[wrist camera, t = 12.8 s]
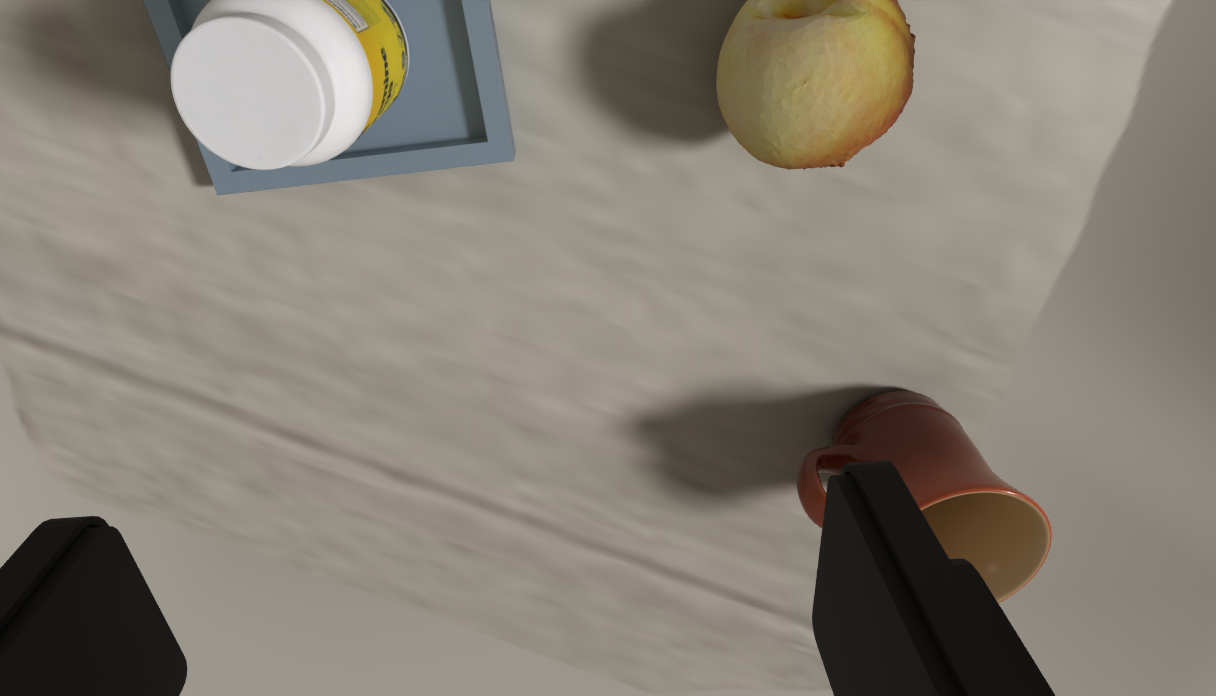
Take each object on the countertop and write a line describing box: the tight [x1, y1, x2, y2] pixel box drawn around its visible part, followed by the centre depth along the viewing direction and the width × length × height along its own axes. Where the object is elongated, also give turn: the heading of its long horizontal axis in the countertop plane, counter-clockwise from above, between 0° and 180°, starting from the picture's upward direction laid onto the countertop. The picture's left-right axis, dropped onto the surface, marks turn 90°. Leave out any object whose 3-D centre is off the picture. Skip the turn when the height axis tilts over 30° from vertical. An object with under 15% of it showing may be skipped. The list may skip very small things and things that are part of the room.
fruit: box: [716, 0, 916, 170], centre depth 31 cm, size 8×8×8 cm
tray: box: [143, 0, 515, 195], centre depth 33 cm, size 11×14×2 cm
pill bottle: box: [171, 0, 409, 170], centre depth 28 cm, size 6×6×11 cm
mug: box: [797, 391, 1052, 603], centre depth 41 cm, size 12×9×10 cm
